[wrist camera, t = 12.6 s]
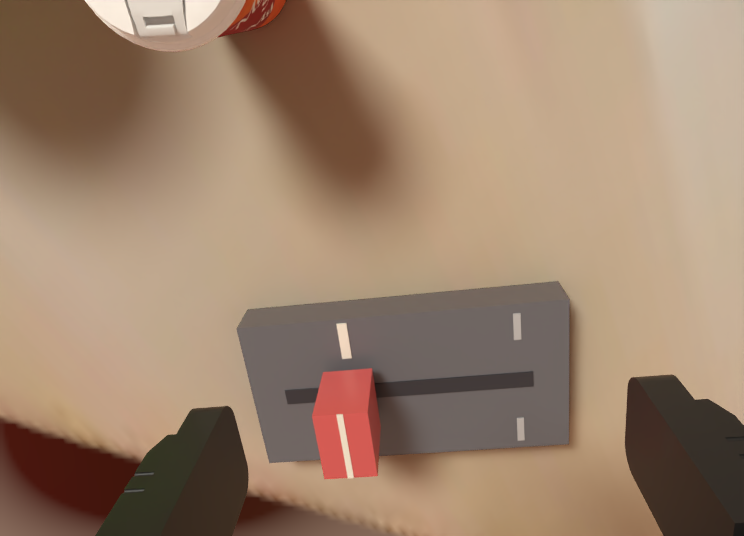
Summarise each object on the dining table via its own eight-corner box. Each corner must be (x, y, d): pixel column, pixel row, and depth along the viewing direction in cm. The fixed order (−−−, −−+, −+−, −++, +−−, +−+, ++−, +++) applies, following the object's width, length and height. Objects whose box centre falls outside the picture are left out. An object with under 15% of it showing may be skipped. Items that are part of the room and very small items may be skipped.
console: (558, 281, 40) (569, 299, 37) (558, 418, 45) (569, 445, 42) (247, 309, 42) (236, 329, 40) (277, 437, 47) (269, 463, 44)
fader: (372, 363, 40) (367, 412, 34) (381, 421, 41) (377, 476, 36) (324, 367, 40) (311, 416, 35) (334, 424, 42) (324, 479, 37)
